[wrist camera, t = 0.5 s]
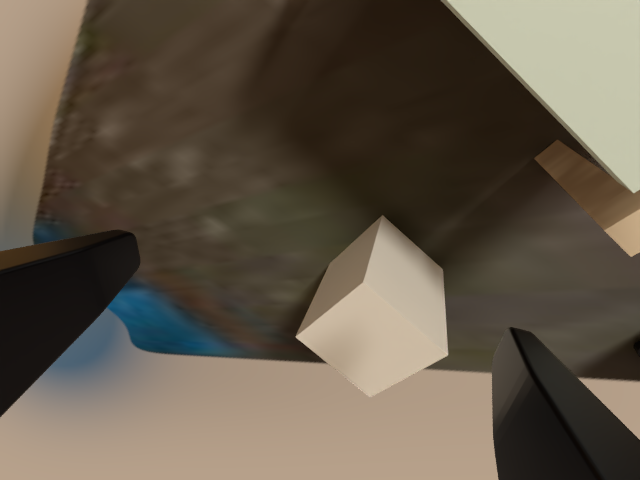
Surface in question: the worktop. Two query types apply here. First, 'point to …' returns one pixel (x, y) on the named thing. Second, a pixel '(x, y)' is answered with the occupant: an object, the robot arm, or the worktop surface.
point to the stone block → (378, 311)
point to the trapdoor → (573, 67)
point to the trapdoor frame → (596, 194)
